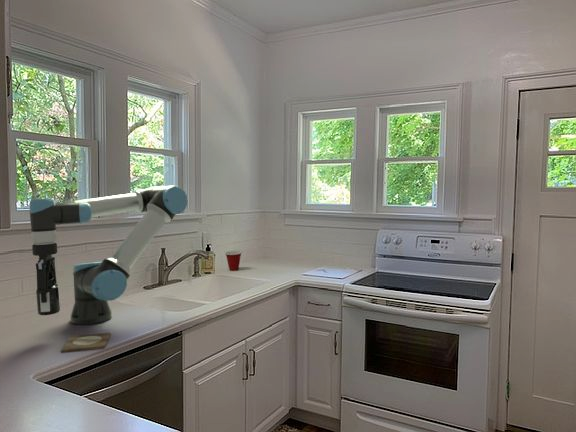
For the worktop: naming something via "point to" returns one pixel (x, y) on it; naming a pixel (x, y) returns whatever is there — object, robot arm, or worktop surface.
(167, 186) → the robot arm
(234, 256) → the plastic cup
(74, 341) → the board
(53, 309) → the supplement bottle
